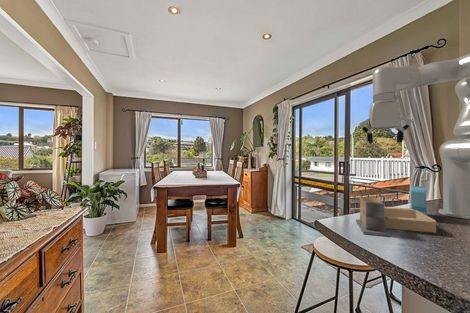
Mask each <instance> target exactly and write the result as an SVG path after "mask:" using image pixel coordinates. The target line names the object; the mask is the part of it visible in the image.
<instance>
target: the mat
mask: <svg viewBox="0 0 470 313" xmlns="http://www.w3.org/2000/svg"><path fill="white" fill-rule="evenodd" d="M355 223H356V224H357V226H358V227H359V229H360V230H361V232H362V234H363V235H370V236H379V237H387V238H388V237H390V233H389V232H388V231H387V229H386V228H384V232H382V231H372V230H366V229H365V227H364V226H363V224H362V223H361V222H360V219H357V218H355Z"/></svg>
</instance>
